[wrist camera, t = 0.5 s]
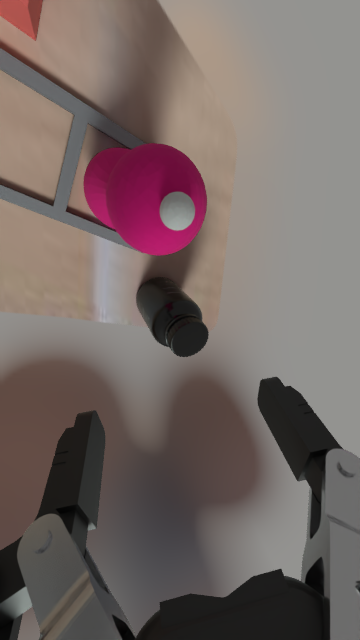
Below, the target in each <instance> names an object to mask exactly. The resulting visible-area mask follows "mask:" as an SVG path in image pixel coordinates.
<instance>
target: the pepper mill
mask: <svg viewBox="0 0 360 640" xmlns="http://www.w3.org/2000/svg"><path fill="white" fill-rule="evenodd" d="M84 193H85V197H86V200H87V203H88V205H89V207H90V209H91V210H92V212H93V213H94V215H95V216H96V217H97V218H98V219H99V220H100V221H101V222H103V223H104V224H106V225H107V226H109V227H111V228H113V229H115V230H116V232H117V233H118V234H119V235H120V236H121V238H122V239H123V240H124V241H125V242H126V243H127V244H129V245H130V246H132V247H133V248H134V249H136V250H138V251H140V252H143V253H146V254H150V255H158V256H159V255H167V254H171V253H175V252H177V251H179V250H181V249H182V248H184V247H185V246H187V245H188V244H189V243H190V242H191V241H192V240H193V238H194V237H195V236H196V235H197V233H198V231H199V230H200V228H201V226H202V223H203V220H204V217H205V213H206V206H207V196H206V190H205V185H204V182H203V180H202V177H201V174H200V173H199V171H198V169H197V168H196V166H195V165H194V163H193V162H192V161H191V160H190V159H189V158H188V157H187V156H186V155H185V154H184V153H182V152H181V151H179V150H177V149H175V148H173V147H171V146H168V145H164V144H156V143H150V144H143V145H140V146H137V147H135V148H133V149H132V150H130V149H125V148H119V147H116V148H108V149H106V150H103V151H101V152H100V153H98V154H97V155H96V156H95V157H94V158H93V159H92V160H91V161H90V163H89V165H88V167H87V169H86V172H85V175H84Z"/></svg>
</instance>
